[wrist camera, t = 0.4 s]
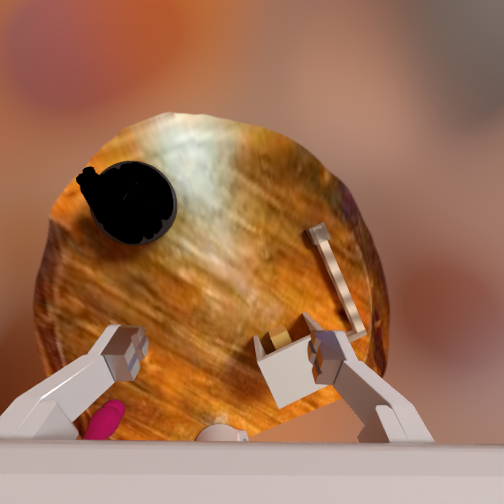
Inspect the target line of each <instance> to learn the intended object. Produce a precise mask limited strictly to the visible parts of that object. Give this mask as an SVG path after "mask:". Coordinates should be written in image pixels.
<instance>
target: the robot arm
mask: <svg viewBox="0 0 504 504" xmlns="http://www.w3.org/2000/svg"><path fill="white" fill-rule="evenodd" d="M145 332H146V330H145V327H144V326H135V325H112V324H111V325H109V326H108V327H107V328H106V329H105V331H104V332H103V333H102V335H101V336H100V337H99V339H98V340H97V342H96V343H95V344H94V346H93V347H92V348H91V350H90V351H89V353H88V354H87V355H83V356H81V357H79V358H78V359H76V360H75V361H73V362H72V363H70V364H69V365H67V366H66V367H64V368H62V369H61V370H59V371H58V372H56V373H55V374H53V375H52V376H50V377H49V378H47V379H45V380H44V381H43V382H41V383H39V384H38V385H36V386H35V387H33V388H31V389H30V390H28V391H27V392H25V393H24V394H22V395H21V396H19V397H18V398H16V399H15V400H14V401H13V403H12V404H11V405H10V406H9V407H8V408H7V409H6V411H5V412H4V413H3V414H2V415H1V416H0V504H504V444H457V443H454V444H453V443H435V441H434V440H433V438H432V436H431V435H430V433H429V431H428V430H427V428H426V427H425V425H424V423H423V421H422V420H421V418H420V416H419V414H418V413H417V411H416V409H415V408H414V406H413V405H412V404H411V403H410V402H409V401H407V400H406V399H405V398H404V397H403V396H402V395H401V394H399V393H398V392H397V391H396V390H395V389H393V388H392V387H391V386H390V385H389V384H388V383H386V382H385V381H384V380H383V379H382V378H381V377H379V376H378V375H377V374H376V373H375V372H374V371H372V370H371V369H370V368H369V367H368V366H366V365H365V364H364V363H363V362H362V361H358V359H357V357H356V355H355V353H354V351H353V349H352V347H351V345H350V343H349V341H348V339H347V336H346V334H345V332H344V331H332V330H312V331H311V334H310V337H311V340H310V341H308V346H307V353H308V358H309V362H310V363H311V364H312V365H313V367H312V374H313V378H314V381H315V384H321V385H333V386H334V388H335V389H336V390H337V391H338V393H339V394H340V395H341V396H342V398H343V399H344V400H345V401H346V402H347V404H348V405H349V406H350V407H351V408H352V410H353V411H354V412H355V414H357V416H358V417H359V418H360V420H361V421H362V422H363V423H364V427H363V428H362V430H361V432H360V433H359V435H358V440H359V443H356V442H354V443H353V442H351V443H350V442H253V441H249V438H248V434H247V432H246V431H244V430H237V429H234V428H232V427H231V426H228V425H224V424H215V425H211V426H209V427H207V428H205V429H204V430H203V431H201V433H200V434H199V435H198V437H197V438H196V441H147V440H76V438H77V436H78V435H79V433H78V430H77V429H76V427H75V426H74V425H73V423H72V422H73V421H74V420H75V419H76V418H77V417H78V416H79V415H80V414H81V413H82V412H84V411H85V410H86V409H87V408H88V407H89V406H90V405H91V404H92V403H93V402H94V401H95V400H96V399H97V398H98V397H99V396H100V395H102V394H103V393H104V392H105V391H106V390H107V389H108V388H109V387H110V386H111V385H112V384H113V383H114V381H134V379H135V377H136V375H137V373H138V371H139V369H140V363H139V362H140V361H141V360H142V359H144V358H145V356H146V353H147V350H148V346H149V341H148V337H146V336H145V335H144V334H145Z"/></svg>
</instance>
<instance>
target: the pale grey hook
mask: <svg viewBox="0 0 504 504" xmlns="http://www.w3.org/2000/svg"><path fill="white" fill-rule="evenodd" d="M306 232H307V234H308V237H309V239H310V241H311V244H312V245H317V248H318V250H319V252H320V255H321V257H322V259H323V262H324V264H325V266H326V268H327V271H328V273H329V275H330V278H331V280H332V282H333V285H334V287H335V289H336V292H337V294H338V296H339V299H340V301H341V303H342V306H343V308H344V310H345V313H346V315H347V317H348V320H349V322H350V324H351V327H352V329H351V330H349V331H347V332H345V334H346V336H347V339H348V341H349V343H350V342H352V341H354V340H356V339H358V338H360V337H362V336H364V335H367V333H366V330H365V328H364V326H363V323H362V321H361V319H360V316H359V314H358V312H357V309H356V307H355V305H354V302H353V300H352V298H351V295H350V293H349V290H348V288H347V286H346V283H345V281H344V279H343V276H342V274H341V272H340V269H339V267H338V265H337V262H336V260H335V258H334V255H333V253H332V251H331V248H330V246H329V244H328V241H327V240H328V239H330V235H329V233H328V231H327V228H326V226H325V223H324V222H323V223H319V224H317V225H315V226H313V227H310V228H308V229H306Z"/></svg>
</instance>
